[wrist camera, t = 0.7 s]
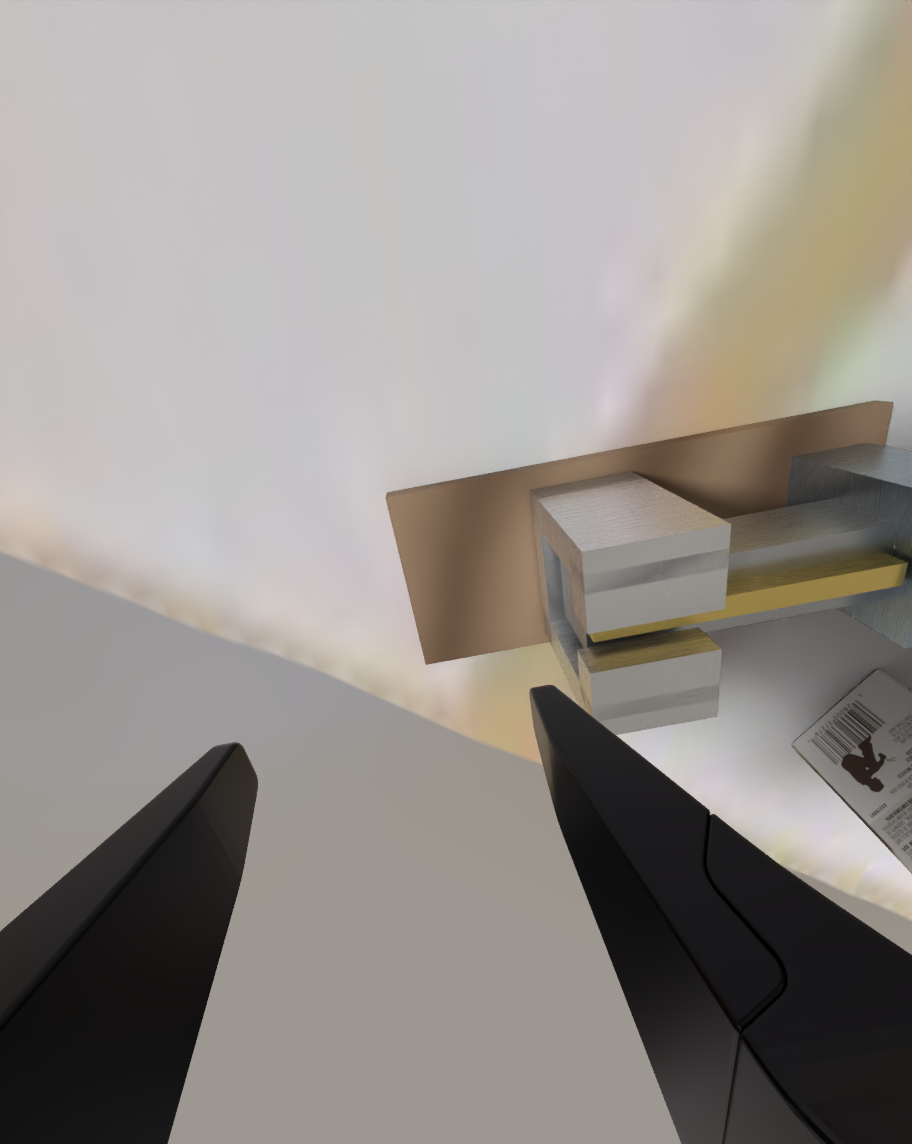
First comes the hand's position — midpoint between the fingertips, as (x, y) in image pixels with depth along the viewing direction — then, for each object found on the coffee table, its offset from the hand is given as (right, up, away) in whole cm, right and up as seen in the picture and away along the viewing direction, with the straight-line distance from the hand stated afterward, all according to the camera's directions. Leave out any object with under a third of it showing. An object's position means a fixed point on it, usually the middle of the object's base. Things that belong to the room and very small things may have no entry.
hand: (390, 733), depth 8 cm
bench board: (+9, +4, +12) cm, 16 cm away
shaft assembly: (+11, +4, +12) cm, 17 cm away
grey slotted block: (+7, +4, +12) cm, 15 cm away
